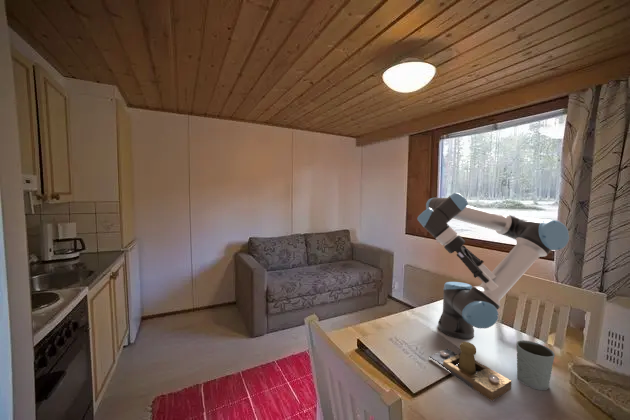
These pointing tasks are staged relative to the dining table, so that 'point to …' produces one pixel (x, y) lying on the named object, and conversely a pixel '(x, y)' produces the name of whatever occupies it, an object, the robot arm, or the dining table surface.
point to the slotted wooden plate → (475, 375)
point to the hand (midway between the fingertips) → (494, 283)
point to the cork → (467, 358)
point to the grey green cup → (534, 364)
